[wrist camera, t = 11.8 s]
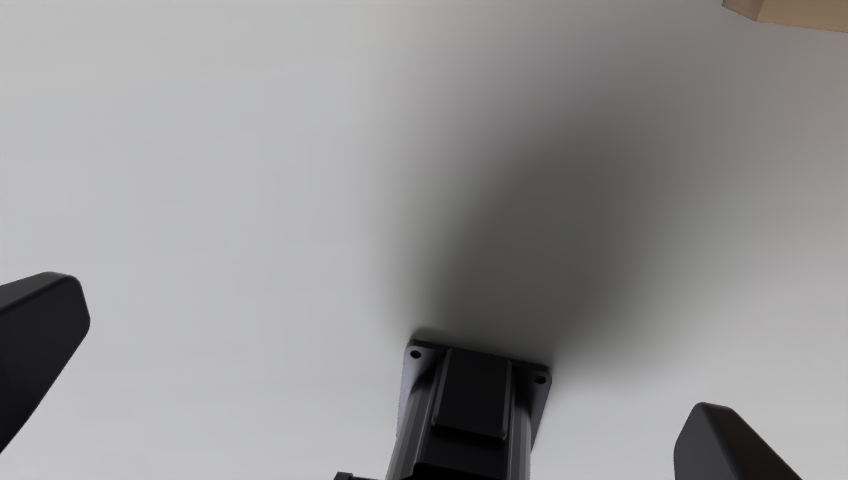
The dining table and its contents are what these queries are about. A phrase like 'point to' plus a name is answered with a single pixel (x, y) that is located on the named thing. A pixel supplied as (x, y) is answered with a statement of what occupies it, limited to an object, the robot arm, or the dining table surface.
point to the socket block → (795, 12)
